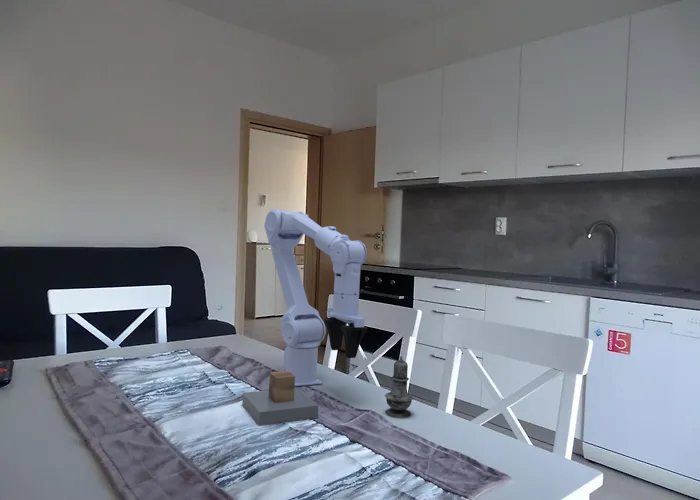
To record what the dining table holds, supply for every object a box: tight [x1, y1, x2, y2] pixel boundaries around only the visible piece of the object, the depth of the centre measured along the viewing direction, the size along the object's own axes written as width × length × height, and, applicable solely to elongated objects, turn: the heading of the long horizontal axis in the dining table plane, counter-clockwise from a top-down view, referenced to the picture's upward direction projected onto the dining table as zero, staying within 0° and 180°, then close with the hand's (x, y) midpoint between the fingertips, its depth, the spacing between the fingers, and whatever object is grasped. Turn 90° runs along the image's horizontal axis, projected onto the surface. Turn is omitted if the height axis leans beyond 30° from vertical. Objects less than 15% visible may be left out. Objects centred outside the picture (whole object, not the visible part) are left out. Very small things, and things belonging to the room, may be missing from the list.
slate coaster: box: [241, 387, 319, 426], centre depth 99 cm, size 12×12×2 cm
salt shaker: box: [384, 356, 414, 419], centre depth 101 cm, size 6×6×12 cm
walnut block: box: [268, 371, 296, 403], centre depth 99 cm, size 4×4×5 cm
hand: (343, 353), depth 109 cm, fingers open, 7 cm apart
